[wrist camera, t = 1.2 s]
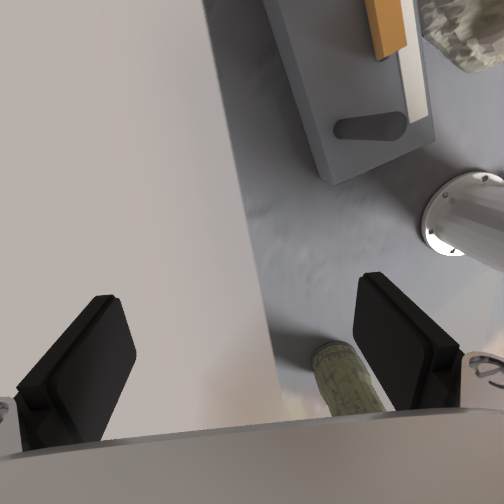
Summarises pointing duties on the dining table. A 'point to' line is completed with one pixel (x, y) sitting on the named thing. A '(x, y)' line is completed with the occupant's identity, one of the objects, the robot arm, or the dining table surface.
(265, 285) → the dining table surface
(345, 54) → the strip
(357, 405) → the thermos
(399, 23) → the wooden plank tile
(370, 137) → the dark grey cylinder
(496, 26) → the beige rock sculpture
